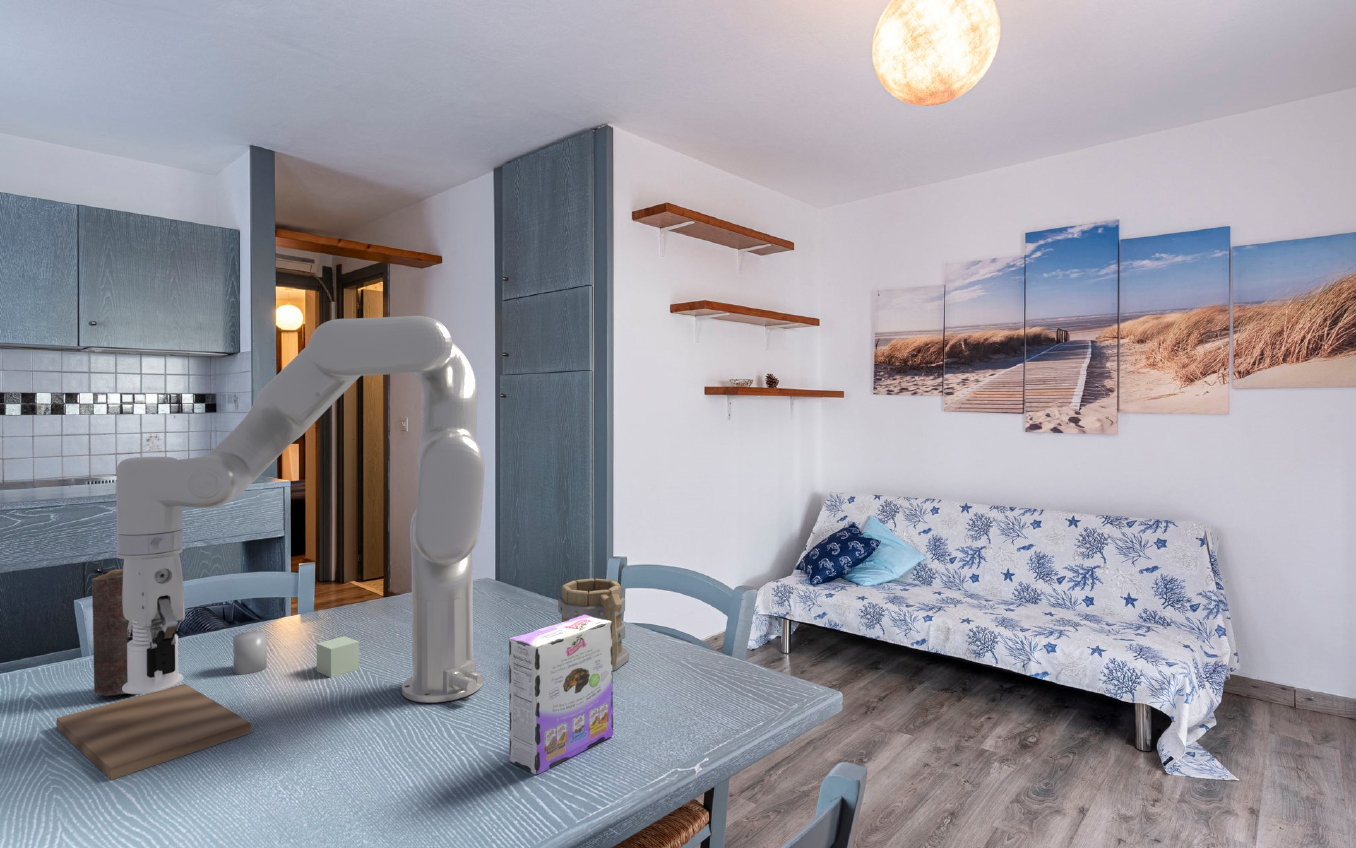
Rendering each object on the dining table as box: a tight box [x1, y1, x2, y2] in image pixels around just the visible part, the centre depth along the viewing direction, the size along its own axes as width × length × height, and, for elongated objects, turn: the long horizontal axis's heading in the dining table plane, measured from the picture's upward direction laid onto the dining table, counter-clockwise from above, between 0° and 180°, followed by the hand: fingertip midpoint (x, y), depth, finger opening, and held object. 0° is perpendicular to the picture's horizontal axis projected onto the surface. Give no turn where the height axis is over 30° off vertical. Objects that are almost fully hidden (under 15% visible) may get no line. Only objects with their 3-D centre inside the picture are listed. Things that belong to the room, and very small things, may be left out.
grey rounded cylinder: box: [232, 630, 268, 676], centre depth 125 cm, size 5×5×6 cm
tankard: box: [557, 577, 630, 672], centre depth 126 cm, size 20×13×15 cm, turn 23°
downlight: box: [122, 619, 184, 695], centre depth 101 cm, size 8×7×10 cm
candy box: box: [508, 615, 614, 776], centre depth 96 cm, size 14×6×16 cm, turn 141°
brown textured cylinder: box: [91, 568, 133, 697], centre depth 115 cm, size 8×7×20 cm
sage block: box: [316, 635, 360, 679], centre depth 125 cm, size 5×5×5 cm
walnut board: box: [56, 683, 252, 781], centre depth 101 cm, size 24×16×2 cm, turn 53°
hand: (151, 667), depth 101 cm, fingers closed on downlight, 7 cm apart
